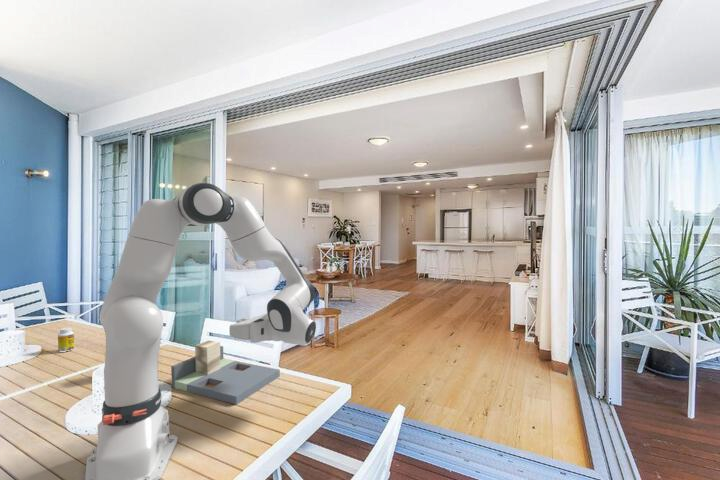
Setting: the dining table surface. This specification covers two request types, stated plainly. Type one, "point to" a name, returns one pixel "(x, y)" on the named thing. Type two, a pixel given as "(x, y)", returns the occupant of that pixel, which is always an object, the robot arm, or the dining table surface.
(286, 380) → the dining table surface
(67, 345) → the supplement bottle
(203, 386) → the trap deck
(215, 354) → the birch block
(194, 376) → the pad
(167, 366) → the dining table surface
